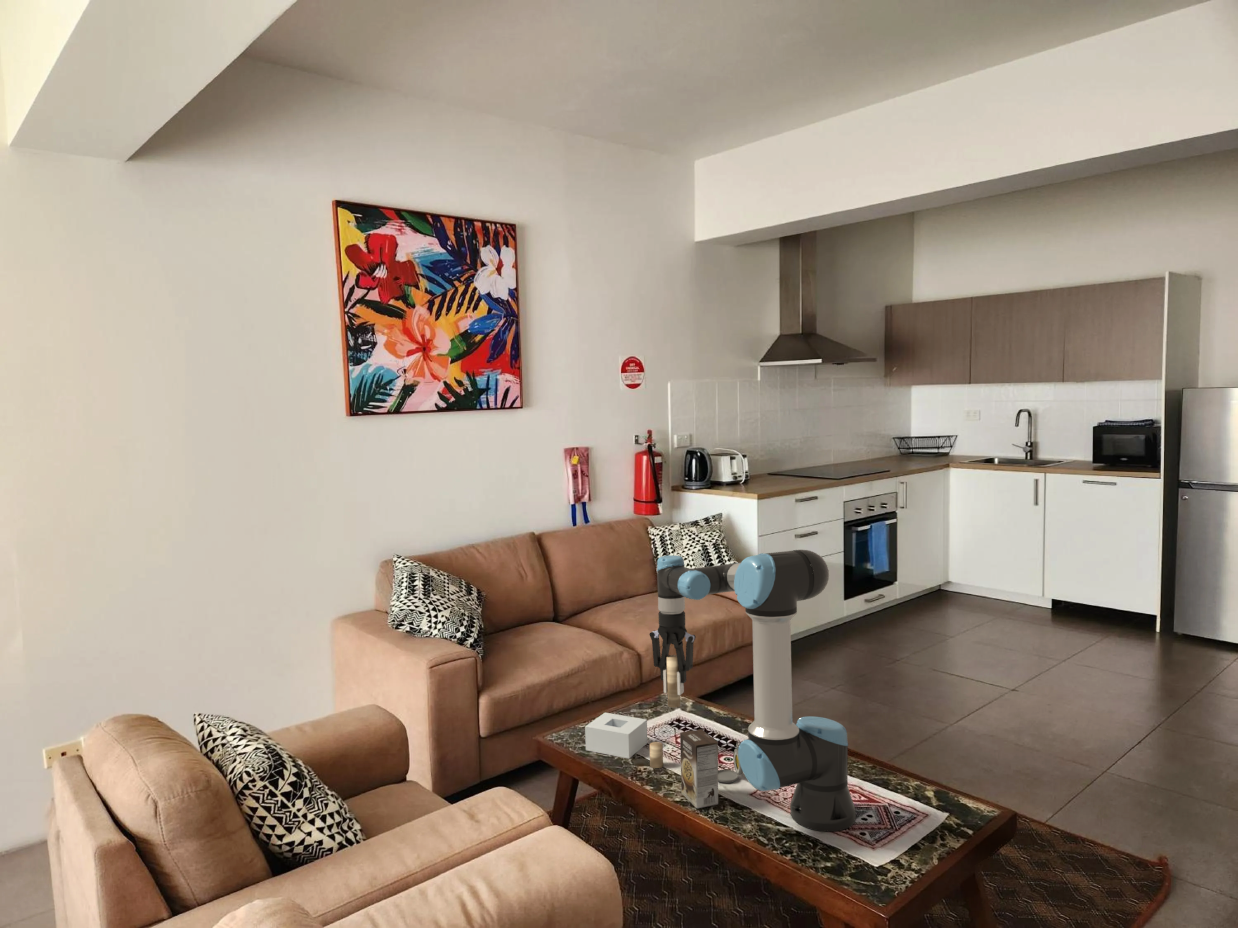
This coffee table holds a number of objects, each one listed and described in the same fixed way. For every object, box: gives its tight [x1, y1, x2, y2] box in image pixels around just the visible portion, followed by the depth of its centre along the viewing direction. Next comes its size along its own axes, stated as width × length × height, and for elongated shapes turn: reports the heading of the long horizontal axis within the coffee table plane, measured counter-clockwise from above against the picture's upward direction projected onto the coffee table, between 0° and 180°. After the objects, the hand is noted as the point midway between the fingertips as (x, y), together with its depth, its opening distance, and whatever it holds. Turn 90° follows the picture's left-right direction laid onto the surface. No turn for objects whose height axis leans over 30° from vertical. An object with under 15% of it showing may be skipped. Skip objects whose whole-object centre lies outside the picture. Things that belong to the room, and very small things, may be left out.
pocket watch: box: [718, 739, 744, 784], centre depth 223 cm, size 8×8×10 cm
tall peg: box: [666, 654, 681, 709], centre depth 239 cm, size 4×4×14 cm
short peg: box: [649, 741, 664, 769], centre depth 232 cm, size 4×4×6 cm
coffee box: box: [679, 728, 719, 809], centre depth 212 cm, size 9×6×16 cm
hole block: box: [584, 712, 648, 759], centre depth 245 cm, size 12×14×7 cm
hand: (673, 692), depth 239 cm, fingers closed on tall peg, 3 cm apart
